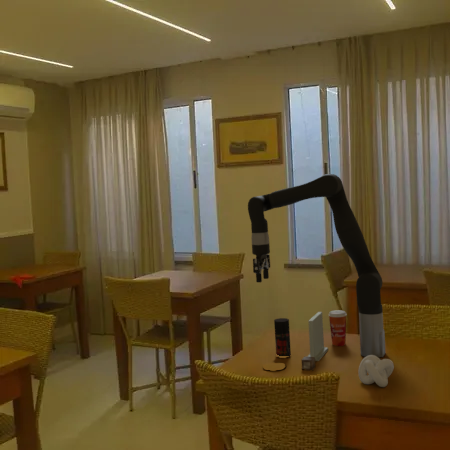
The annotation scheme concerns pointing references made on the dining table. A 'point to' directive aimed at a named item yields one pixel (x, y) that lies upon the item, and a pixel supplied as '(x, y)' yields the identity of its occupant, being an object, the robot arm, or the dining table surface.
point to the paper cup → (338, 327)
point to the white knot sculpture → (375, 370)
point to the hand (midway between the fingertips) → (262, 280)
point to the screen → (316, 337)
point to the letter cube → (308, 363)
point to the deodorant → (282, 337)
